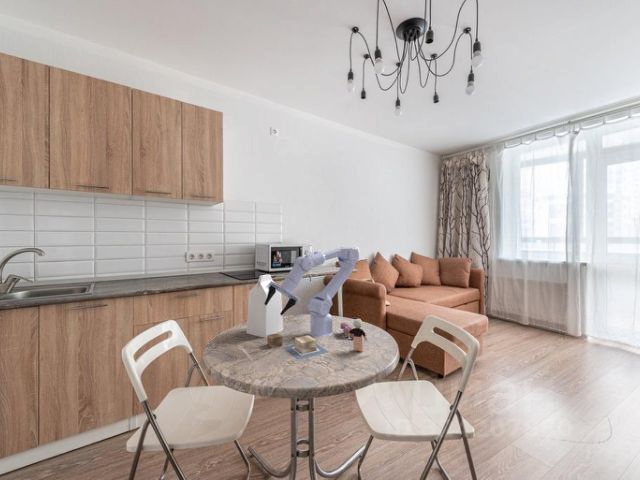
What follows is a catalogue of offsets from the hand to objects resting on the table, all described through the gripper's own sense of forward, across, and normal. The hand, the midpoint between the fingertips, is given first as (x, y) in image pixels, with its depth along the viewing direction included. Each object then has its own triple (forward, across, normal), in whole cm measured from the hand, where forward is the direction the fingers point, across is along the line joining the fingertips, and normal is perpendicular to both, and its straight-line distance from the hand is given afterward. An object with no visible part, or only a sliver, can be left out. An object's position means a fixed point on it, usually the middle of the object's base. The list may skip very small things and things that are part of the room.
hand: (273, 309), depth 115 cm
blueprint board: (+6, +19, +1) cm, 20 cm away
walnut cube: (+11, +8, +5) cm, 15 cm away
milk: (+8, -2, +22) cm, 23 cm away
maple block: (+6, +19, +1) cm, 20 cm away
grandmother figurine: (-3, +37, 0) cm, 37 cm away
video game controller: (-9, +32, +16) cm, 36 cm away
